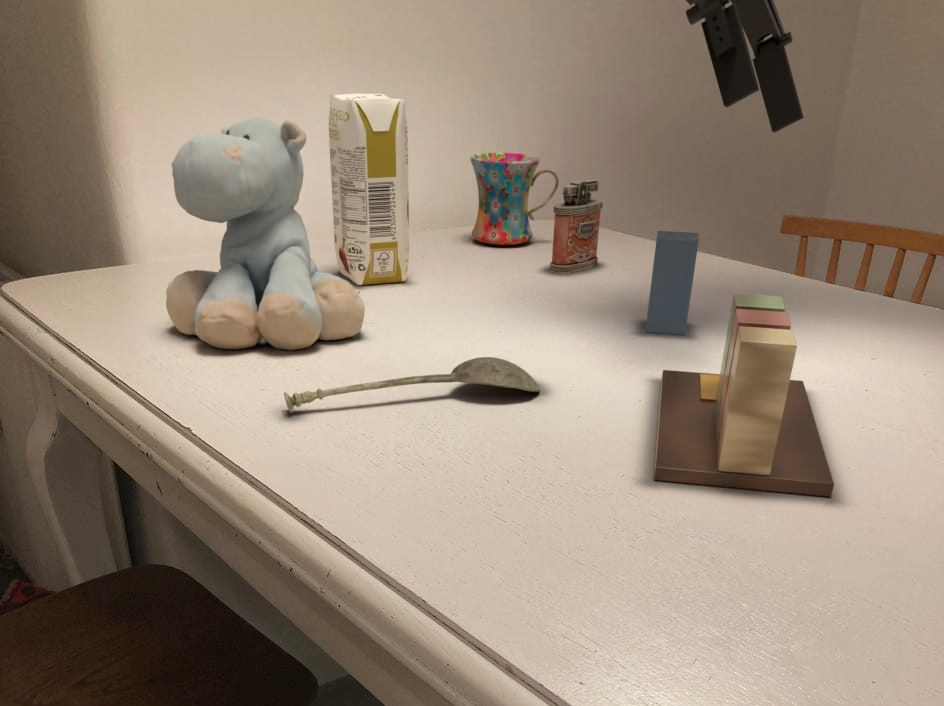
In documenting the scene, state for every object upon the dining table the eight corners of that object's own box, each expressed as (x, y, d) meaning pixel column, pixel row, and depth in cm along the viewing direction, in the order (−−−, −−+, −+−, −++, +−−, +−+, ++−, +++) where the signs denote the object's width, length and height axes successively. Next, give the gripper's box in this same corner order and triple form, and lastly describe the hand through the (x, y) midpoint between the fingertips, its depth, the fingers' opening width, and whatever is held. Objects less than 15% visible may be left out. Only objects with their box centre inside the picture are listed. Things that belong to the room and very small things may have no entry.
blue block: (685, 324, 101) (698, 232, 96) (685, 335, 97) (698, 240, 92) (646, 321, 101) (657, 230, 96) (645, 332, 98) (656, 238, 93)
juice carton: (354, 288, 111) (346, 99, 100) (331, 271, 117) (321, 93, 107) (415, 283, 113) (413, 98, 103) (389, 267, 120) (385, 92, 109)
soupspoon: (552, 407, 81) (522, 386, 86) (555, 367, 79) (524, 348, 85) (292, 425, 74) (277, 400, 80) (290, 381, 73) (275, 359, 78)
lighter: (565, 274, 118) (571, 186, 113) (543, 270, 120) (548, 182, 115) (603, 264, 123) (611, 179, 118) (582, 260, 125) (589, 175, 120)
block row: (800, 391, 84) (827, 271, 78) (831, 497, 66) (868, 351, 60) (661, 380, 85) (677, 262, 80) (653, 480, 67) (673, 336, 62)
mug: (467, 247, 130) (468, 160, 124) (469, 234, 138) (471, 151, 132) (555, 250, 130) (561, 163, 124) (553, 236, 137) (558, 154, 132)
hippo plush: (135, 336, 93) (98, 123, 83) (293, 289, 109) (278, 106, 99) (275, 372, 85) (254, 140, 75) (424, 316, 101) (423, 118, 91)
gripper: (704, -70, 91) (765, 153, 94) (590, -177, 72) (672, 110, 74) (781, -122, 87) (843, 113, 89) (683, -251, 67) (767, 57, 69)
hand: (766, 112), depth 82 cm, fingers open, 13 cm apart
